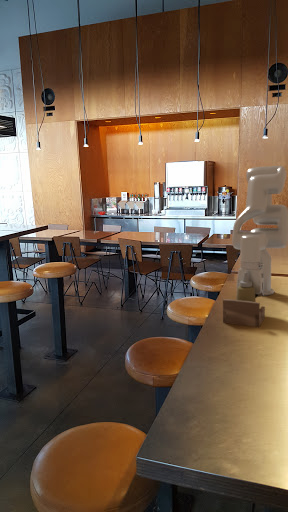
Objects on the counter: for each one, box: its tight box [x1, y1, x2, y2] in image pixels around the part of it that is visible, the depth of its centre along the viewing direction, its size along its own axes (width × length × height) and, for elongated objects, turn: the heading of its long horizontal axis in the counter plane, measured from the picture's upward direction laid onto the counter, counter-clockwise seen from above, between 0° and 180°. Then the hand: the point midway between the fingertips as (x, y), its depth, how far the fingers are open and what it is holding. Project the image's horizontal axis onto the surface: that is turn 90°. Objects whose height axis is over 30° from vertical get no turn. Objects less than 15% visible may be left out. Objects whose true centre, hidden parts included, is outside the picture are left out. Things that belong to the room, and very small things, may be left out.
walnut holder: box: [222, 298, 266, 328], centre depth 141 cm, size 11×13×9 cm
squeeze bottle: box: [235, 272, 257, 302], centre depth 144 cm, size 8×8×18 cm
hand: (249, 308), depth 150 cm, fingers closed
